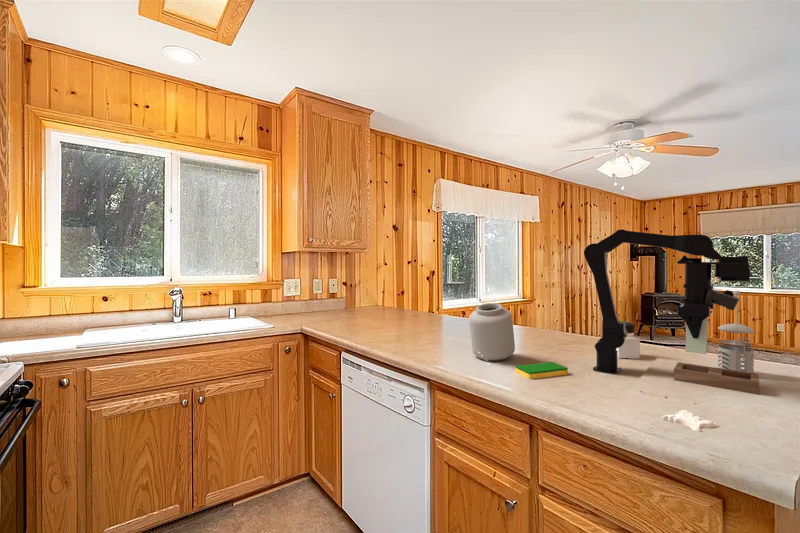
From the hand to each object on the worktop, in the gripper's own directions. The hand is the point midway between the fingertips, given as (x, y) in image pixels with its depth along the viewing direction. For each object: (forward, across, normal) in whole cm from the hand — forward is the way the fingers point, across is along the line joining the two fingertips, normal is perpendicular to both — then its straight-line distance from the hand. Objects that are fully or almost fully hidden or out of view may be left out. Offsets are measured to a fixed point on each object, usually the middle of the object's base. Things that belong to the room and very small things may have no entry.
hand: (696, 337), depth 103 cm
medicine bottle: (+13, +19, +21) cm, 32 cm away
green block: (+4, 0, 0) cm, 4 cm away
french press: (+13, +15, -8) cm, 21 cm away
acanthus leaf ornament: (+14, -32, -2) cm, 35 cm away
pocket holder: (+13, 0, -4) cm, 13 cm away
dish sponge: (+14, -19, +35) cm, 43 cm away
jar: (+14, -14, +55) cm, 59 cm away
